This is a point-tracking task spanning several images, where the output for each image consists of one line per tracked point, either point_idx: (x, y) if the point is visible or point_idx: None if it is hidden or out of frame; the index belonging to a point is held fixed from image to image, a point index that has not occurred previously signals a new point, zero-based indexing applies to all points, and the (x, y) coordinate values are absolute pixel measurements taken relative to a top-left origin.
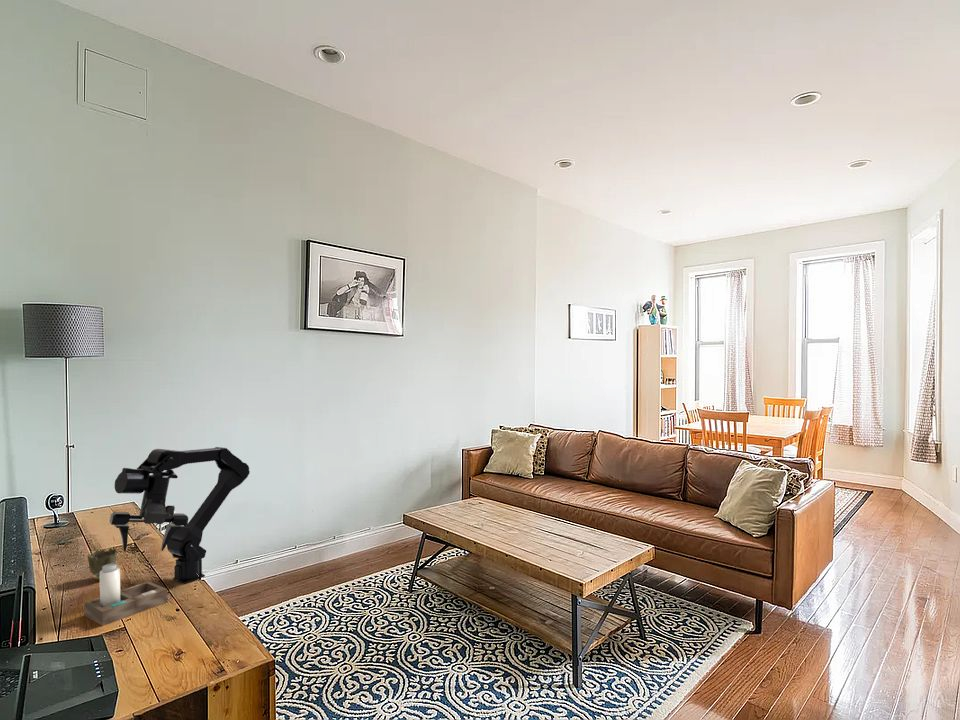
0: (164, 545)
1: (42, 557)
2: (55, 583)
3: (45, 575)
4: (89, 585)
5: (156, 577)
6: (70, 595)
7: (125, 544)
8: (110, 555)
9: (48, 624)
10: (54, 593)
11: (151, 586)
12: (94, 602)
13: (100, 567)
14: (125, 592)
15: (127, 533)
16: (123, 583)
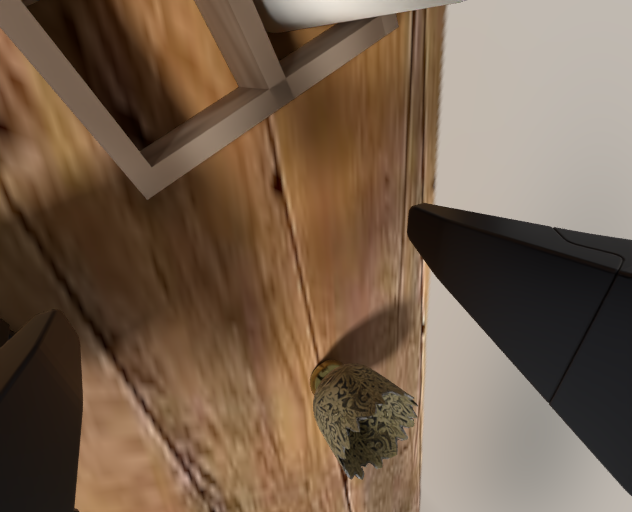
0: (12, 355)
1: (419, 477)
2: (409, 351)
3: (421, 396)
4: (350, 328)
5: (142, 378)
6: (387, 263)
7: (471, 216)
8: (346, 453)
9: (437, 25)
10: (414, 288)
11: (103, 106)
12: (362, 23)
13: (361, 375)
14: (247, 99)
15: (610, 266)
16: (263, 330)
